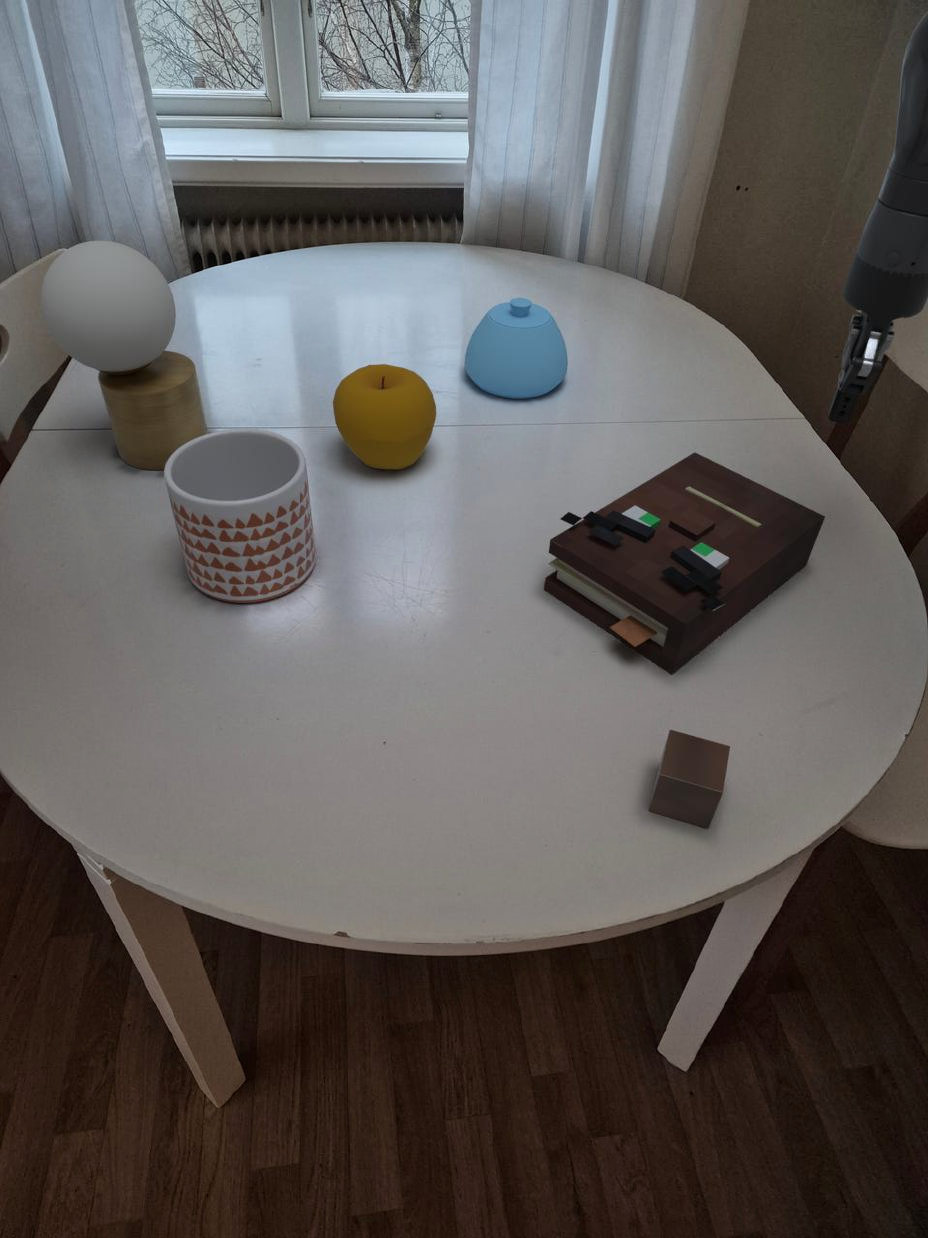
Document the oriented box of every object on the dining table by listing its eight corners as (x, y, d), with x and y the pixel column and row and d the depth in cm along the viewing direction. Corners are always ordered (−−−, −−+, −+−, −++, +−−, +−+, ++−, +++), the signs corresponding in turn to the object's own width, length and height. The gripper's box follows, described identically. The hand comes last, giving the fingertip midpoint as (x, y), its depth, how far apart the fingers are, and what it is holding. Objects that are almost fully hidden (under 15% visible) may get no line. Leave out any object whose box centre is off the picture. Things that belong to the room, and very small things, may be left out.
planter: (208, 620, 87) (185, 518, 78) (173, 545, 95) (148, 445, 87) (335, 581, 92) (326, 481, 83) (290, 513, 100) (278, 416, 92)
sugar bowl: (565, 407, 121) (574, 327, 113) (458, 398, 122) (461, 319, 114) (566, 358, 132) (575, 283, 124) (469, 351, 133) (472, 276, 125)
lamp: (69, 473, 105) (0, 266, 88) (108, 415, 115) (54, 219, 98) (193, 479, 105) (149, 272, 88) (221, 420, 115) (186, 225, 98)
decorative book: (849, 506, 92) (684, 636, 76) (826, 561, 97) (667, 694, 81) (699, 434, 102) (526, 536, 86) (686, 488, 107) (520, 593, 91)
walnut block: (716, 782, 74) (730, 746, 71) (708, 829, 71) (722, 793, 67) (658, 765, 75) (669, 729, 72) (648, 811, 72) (659, 774, 68)
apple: (366, 497, 103) (361, 412, 96) (317, 447, 111) (309, 365, 103) (455, 467, 109) (458, 384, 101) (403, 421, 116) (402, 341, 109)
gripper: (946, 287, 75) (874, 457, 87) (938, 237, 84) (874, 397, 96) (856, 273, 77) (798, 442, 89) (858, 226, 86) (805, 384, 98)
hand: (838, 418), depth 92 cm, fingers closed
